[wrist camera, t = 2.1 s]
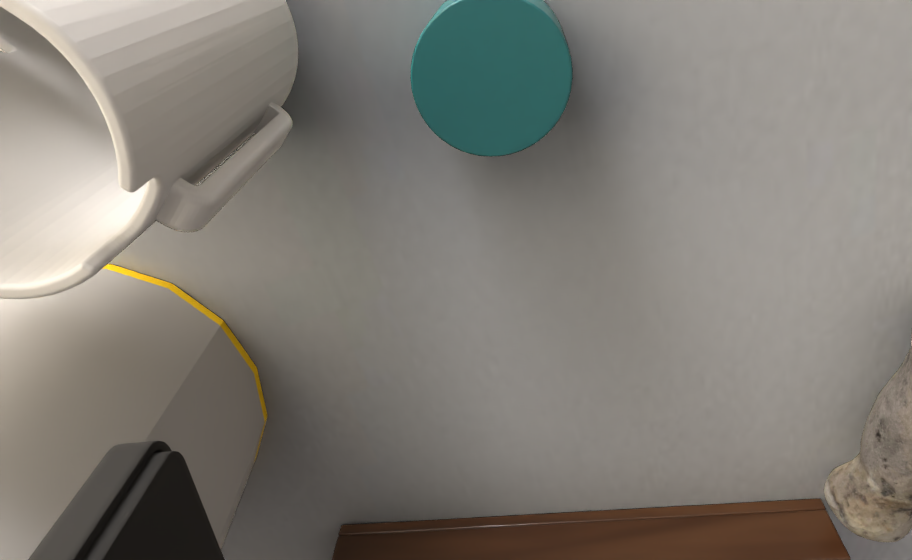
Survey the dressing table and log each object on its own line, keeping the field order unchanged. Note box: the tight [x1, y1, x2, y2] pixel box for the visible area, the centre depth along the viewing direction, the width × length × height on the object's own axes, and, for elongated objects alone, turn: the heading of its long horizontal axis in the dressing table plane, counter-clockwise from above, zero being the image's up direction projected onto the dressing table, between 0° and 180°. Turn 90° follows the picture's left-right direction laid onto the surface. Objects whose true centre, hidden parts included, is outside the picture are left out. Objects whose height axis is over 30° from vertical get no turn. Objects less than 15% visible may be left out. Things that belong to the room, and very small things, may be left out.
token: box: [410, 0, 573, 157], centre depth 22 cm, size 4×4×3 cm
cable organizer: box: [0, 0, 298, 299], centre depth 18 cm, size 7×12×12 cm, turn 56°
